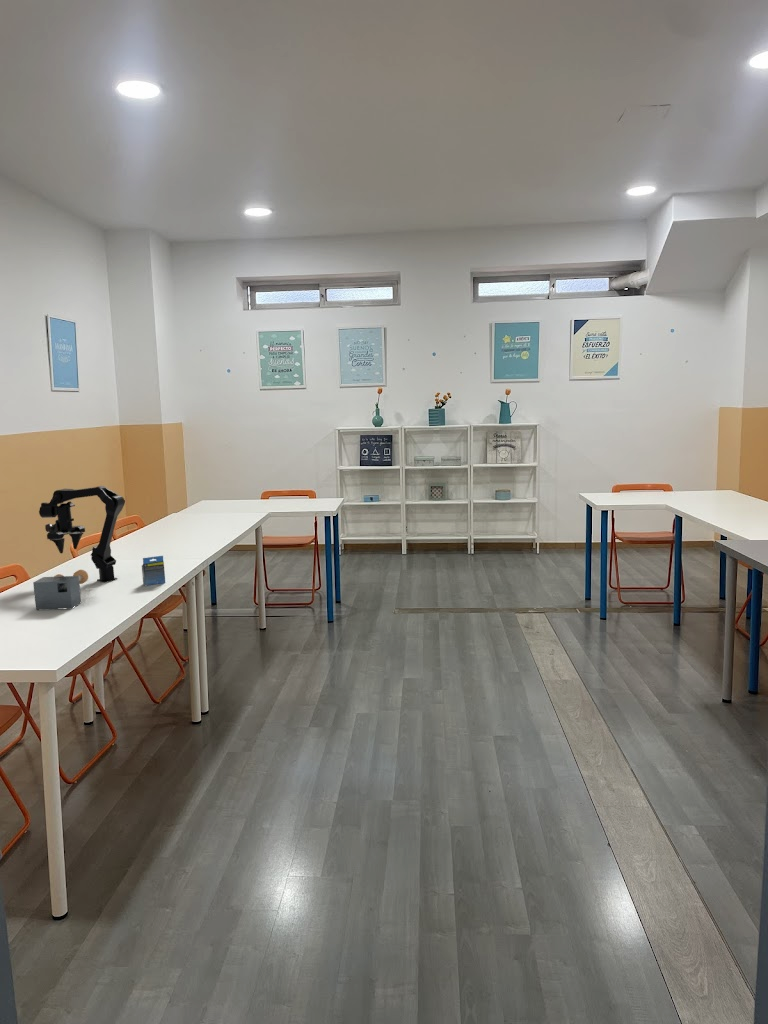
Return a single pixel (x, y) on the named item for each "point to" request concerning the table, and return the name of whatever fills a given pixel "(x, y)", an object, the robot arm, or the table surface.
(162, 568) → the label tape cartridge
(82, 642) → the table surface
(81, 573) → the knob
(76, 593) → the mount
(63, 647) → the table surface
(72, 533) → the robot arm
